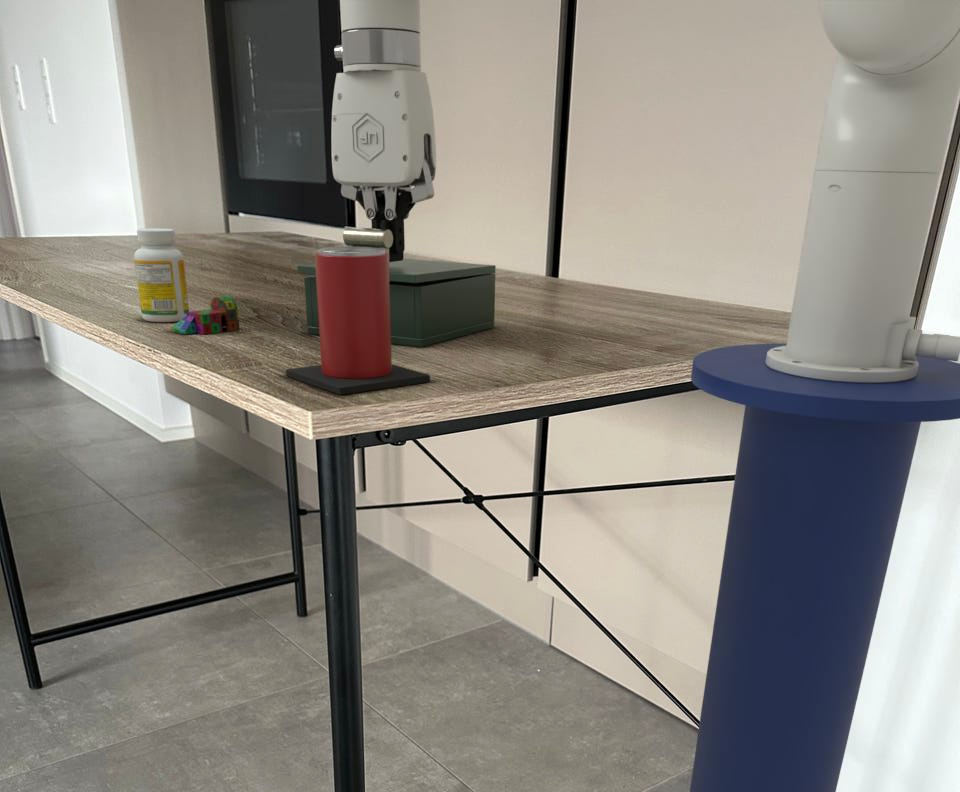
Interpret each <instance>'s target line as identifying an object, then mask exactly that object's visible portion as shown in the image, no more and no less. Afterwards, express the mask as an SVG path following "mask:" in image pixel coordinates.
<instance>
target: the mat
mask: <svg viewBox="0 0 960 792" xmlns="http://www.w3.org/2000/svg"><path fill="white" fill-rule="evenodd" d="M285 377H288V378H290V379H294V380H296V381H299V382H302V383H305V384H307V385H311V386H312V387H313V386H314V387H316V388H319V389H322V390H325V391H328V392H331V393H333V394H336V395H339V396H343V395H350V394H358V393H364V392H370V391H377V390H378V391H379V390H385V389H390V388H391V389H392V388H397V387H405V386H411V385H418V384H425V383H430V382H431V375H430V374H427V373H424V372H421V371H418V370H414V369H410V368H407V367H404V366H399V365H397V364H393V363H392V372H391V373H390V374H389V375H386V376H383V377H377V378H369V379H342V378H334V377H330V376H326V375H324V374H323V373H322V368H321V364H318V365H311V366H303V367H294V368H287V369H285Z"/></svg>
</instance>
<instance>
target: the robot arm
mask: <svg viewBox="0 0 960 792" xmlns="http://www.w3.org/2000/svg"><path fill="white" fill-rule="evenodd" d="M817 3H818V10H819V17H820V21H821V24H822V27H823V30H824V32H825V35H826V36H827V39H828V40H829V42H830V43H831V45H832V46H833V48H834V49H835V50H836V51H837V52H836V57H835V63H834V68H833V73H832V78H831V82H830V87H829V91H828V94H827V100H826V104H825V109H824V114H823V119H822V124H821V130H820V135H819V141H818V146H817V152H816V159H815V165H814V170H813V175H812V182H811V188H810V194H809V201H808V206H807V212H806V219H805V225H804V232H803V238H802V243H801V250H800V257H799V263H798V270H797V275H796V281H795V288H794V294H793V300H792V307H791V312H790V313H791V314H790V319H789V325H788V332H787V339H786V343H785V344H786V346H781V347H776V348H773V349H770V350H769V351H768V352H767V356H766V362H765V363H766V365H767V366H768V367H769V368H771V369H773V370H775V371H778V372H781V373H785V374H788V375H793V376H797V377H803V378H809V379H816V380H823V381H833V382H845V383H892V382H900V381H906V380H909V379H912V378H914V377H915V376H916V375H917V371H918V367H919V363H918V362H917V361H916V358H917V356H918V357H928V358H935V359H938V360H948V361H952V362H958V361H959V359H960V336H956V335H950V334H939V333H933V334H931V333H923V329H918V328H917V329H915V325H916V320H917V317H916V316H910V314H911V309H912V306H913V301H914V296H915V292H916V287H917V282H918V277H919V273H920V268H921V263H922V259H923V254H924V250H925V245H926V240H927V236H928V231H929V226H930V221H931V217H932V212H933V208H934V203H935V197H936V194H937V188H938V184H939V179H940V176H941V175H940V174H942V169H943V164H944V159H945V154H946V150H947V146H948V140H949V136H950V133H951V126H952V123H953V118H954V114H955V111H956V105H957V101H958V97H959V93H960V0H817ZM339 12H340V29H341V30H340V31H341V36H340V37H341V44H340V45H336V46H335V47H334V51H333V53H334V58H335V59H336V61H338V62H342V69H343V72H336V76H335V80H334V81H335V82H334V88H333V97H332V108H331V137H330V139H331V168H332V176H333V179H334V180H335V181H336V182H337V183H338V184H339V185H341V186H340V193H341V196H342V197H344V198H346V199H349V200H352V201H355V202H358V204H359V205H360V206H361V207H362V209H363V210H364V211H365V212H364V213H365V217H366V218H367V219H368V220H371V221H370V222H371V228H375V229H389V230H390V231H391V232H392V235H393V243H392V246H391V247H390V248H389V262H395V261H402V260H403V259H405V258H404V257H405V255H404V252H405V249H406V247H405V246H406V245H405V243H406V242H405V241H406V240H405V220H407V219H408V218H409V216H410V213H411V211H412V210H413V208H414V207H415V205H416V204H417V203H421V202H425V201H427V200H431V199H433V198H434V196H435V189H434V185H433V181H434V180H435V177H436V174H437V173H436V171H437V145H436V144H437V143H436V132H435V129H436V128H435V120H434V110H433V102H432V97H431V96H432V95H431V90H430V86H429V80H428V76H427V73H426V72H424V71H422V54H421V53H422V51H421V49H422V47H421V0H339Z"/></svg>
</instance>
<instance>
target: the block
mask: <svg viewBox="0 0 960 792" xmlns="http://www.w3.org/2000/svg"><path fill="white" fill-rule="evenodd" d="M186 313H187V316H185V317H184V318H183V319H182V320H180V321H177V322H176V323H174V325H172V327H170V332H172V333H176V334H181V335H192V334H199V335H210V334H219V333H223V328H226V332H233V331H240V330H241V328H240V319H239V308H238V304H237V302H236V301H235V299H234V298H233V297H232V296H231V295H223V296H215V297H213V298H212V299H211V302H210V308H209V309H201V310H192V311H189V312H186Z"/></svg>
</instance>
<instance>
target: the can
mask: <svg viewBox="0 0 960 792" xmlns="http://www.w3.org/2000/svg"><path fill="white" fill-rule="evenodd" d="M314 262H315V263H314V264H315V268H316V284H317V301H318V318H319V335H318V336H319V350H320V351H319V352H320V365H321V368H322V373H323V374H324V375H326V376H330V377H334V378H342V379H369V378H377V377H383V376H386V375H389V374H390V373H391V372H392V364H393V363H392V344H391V323H390V285H389V254H388V253H385V250H384V249H381V248H373V247H348V246H328V247H327V246H326V247H321V248H318V249H317V252H315V253H314Z"/></svg>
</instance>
